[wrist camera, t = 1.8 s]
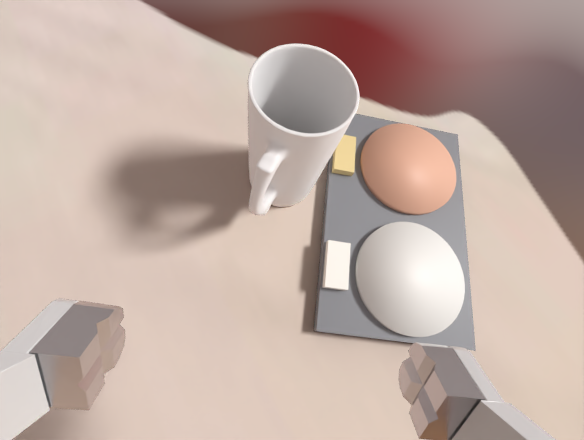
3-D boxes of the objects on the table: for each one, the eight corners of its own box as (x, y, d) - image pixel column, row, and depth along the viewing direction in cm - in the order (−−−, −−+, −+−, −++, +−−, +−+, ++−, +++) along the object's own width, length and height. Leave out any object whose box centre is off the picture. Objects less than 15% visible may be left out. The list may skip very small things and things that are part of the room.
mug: (265, 136, 30) (279, 26, 19) (325, 165, 30) (374, 73, 19) (216, 220, 26) (194, 147, 15) (283, 253, 26) (312, 204, 15)
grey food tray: (313, 330, 25) (318, 331, 23) (332, 115, 32) (337, 104, 30) (467, 349, 26) (482, 351, 24) (451, 139, 33) (462, 130, 32)
